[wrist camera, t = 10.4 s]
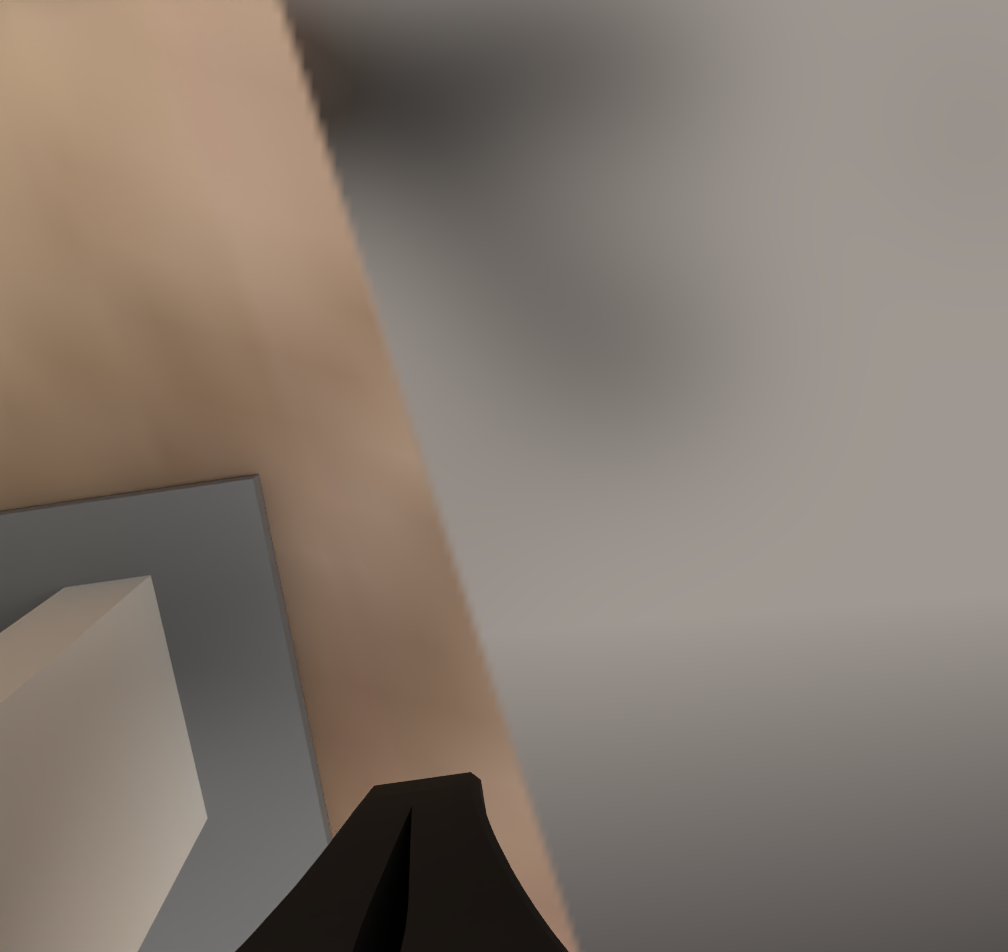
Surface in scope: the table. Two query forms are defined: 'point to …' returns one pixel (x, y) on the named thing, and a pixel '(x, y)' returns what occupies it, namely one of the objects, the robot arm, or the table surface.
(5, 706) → the tile
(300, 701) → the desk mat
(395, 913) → the robot arm
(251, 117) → the table surface
